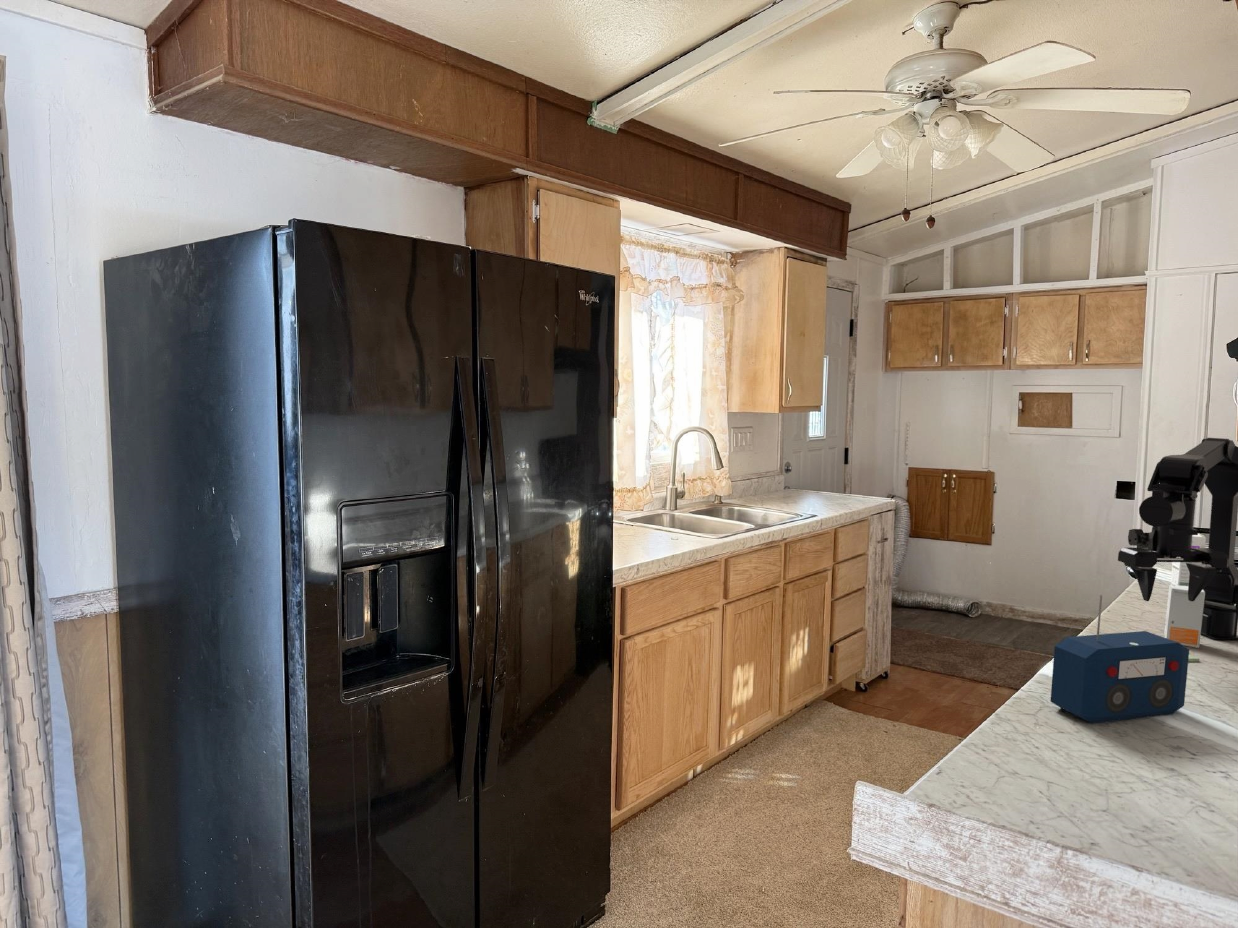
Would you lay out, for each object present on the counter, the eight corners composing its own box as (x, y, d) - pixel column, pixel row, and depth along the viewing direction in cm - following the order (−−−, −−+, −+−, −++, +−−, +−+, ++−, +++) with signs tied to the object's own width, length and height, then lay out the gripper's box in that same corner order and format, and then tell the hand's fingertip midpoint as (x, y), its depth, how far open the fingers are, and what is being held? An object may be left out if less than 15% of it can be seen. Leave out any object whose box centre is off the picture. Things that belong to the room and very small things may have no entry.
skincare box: (1165, 643, 179) (1170, 587, 178) (1163, 638, 183) (1168, 583, 181) (1200, 648, 176) (1205, 591, 175) (1197, 643, 180) (1202, 587, 179)
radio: (1087, 728, 134) (1097, 604, 132) (1045, 707, 143) (1054, 590, 141) (1191, 716, 140) (1202, 597, 138) (1145, 696, 148) (1155, 584, 146)
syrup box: (1177, 588, 228) (1181, 534, 226) (1170, 583, 233) (1174, 531, 232) (1201, 590, 226) (1206, 536, 225) (1193, 585, 232) (1198, 532, 230)
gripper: (1191, 515, 173) (1184, 590, 175) (1103, 514, 172) (1097, 590, 174) (1234, 525, 162) (1226, 605, 164) (1140, 524, 161) (1133, 604, 163)
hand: (1168, 600), depth 166 cm, fingers open, 9 cm apart
